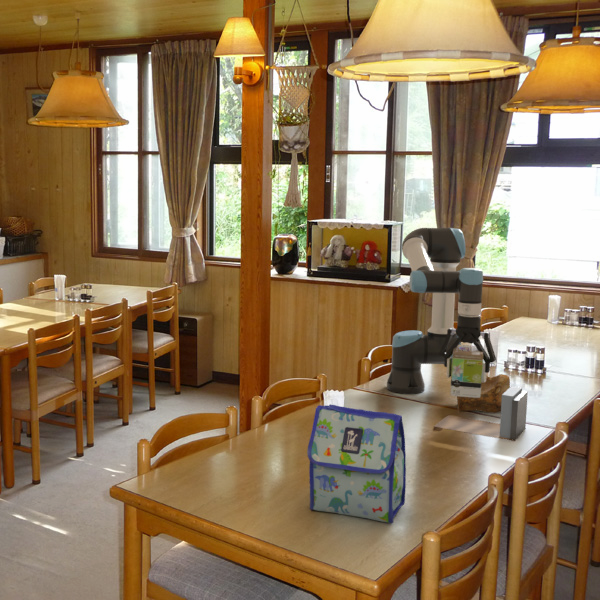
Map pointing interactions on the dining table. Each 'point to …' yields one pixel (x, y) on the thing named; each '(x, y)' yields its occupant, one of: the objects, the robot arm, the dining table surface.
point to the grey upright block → (507, 410)
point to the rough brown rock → (486, 396)
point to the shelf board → (470, 426)
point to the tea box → (466, 371)
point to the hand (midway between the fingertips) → (466, 379)
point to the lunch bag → (357, 463)
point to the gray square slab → (518, 415)
